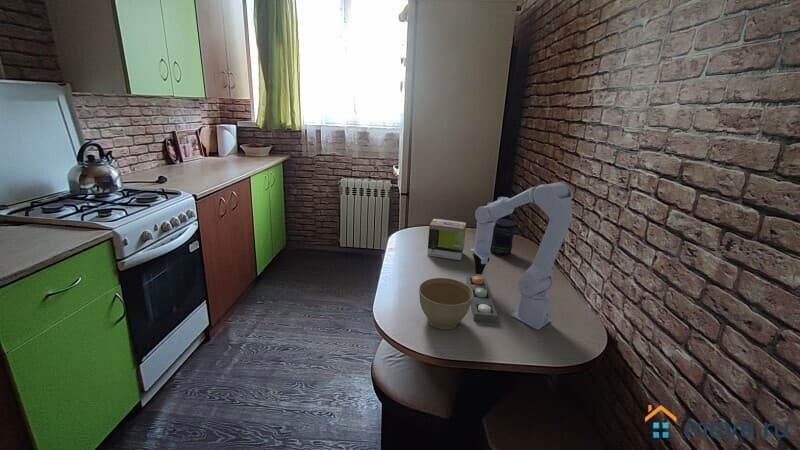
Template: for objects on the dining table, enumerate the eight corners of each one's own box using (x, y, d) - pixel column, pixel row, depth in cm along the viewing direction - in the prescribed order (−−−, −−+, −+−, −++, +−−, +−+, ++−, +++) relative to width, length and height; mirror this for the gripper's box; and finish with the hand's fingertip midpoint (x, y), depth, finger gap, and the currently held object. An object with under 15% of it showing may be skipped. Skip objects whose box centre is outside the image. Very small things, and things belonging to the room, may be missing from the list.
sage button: (487, 299, 122) (488, 294, 121) (475, 298, 122) (476, 293, 121) (485, 293, 126) (486, 288, 125) (474, 292, 126) (474, 287, 125)
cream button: (491, 317, 114) (492, 311, 113) (478, 315, 114) (479, 310, 113) (489, 310, 118) (490, 304, 117) (476, 308, 118) (477, 303, 117)
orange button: (483, 286, 130) (484, 281, 130) (472, 285, 131) (473, 280, 130) (481, 281, 134) (482, 276, 133) (471, 280, 134) (471, 275, 134)
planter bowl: (419, 303, 120) (421, 274, 117) (468, 310, 118) (472, 281, 115) (413, 332, 105) (416, 300, 102) (469, 340, 103) (474, 308, 100)
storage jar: (513, 257, 161) (518, 226, 156) (491, 256, 161) (496, 224, 156) (507, 248, 171) (512, 219, 166) (486, 247, 171) (491, 217, 166)
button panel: (496, 322, 113) (497, 315, 112) (473, 320, 113) (474, 313, 112) (484, 284, 136) (485, 278, 135) (466, 282, 136) (466, 276, 136)
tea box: (463, 252, 163) (467, 221, 159) (460, 261, 154) (464, 229, 149) (430, 247, 167) (433, 217, 162) (426, 255, 158) (429, 224, 153)
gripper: (469, 230, 134) (465, 263, 138) (474, 245, 120) (469, 282, 124) (489, 232, 133) (484, 265, 138) (495, 247, 120) (490, 283, 124)
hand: (478, 273), depth 131 cm, fingers closed
